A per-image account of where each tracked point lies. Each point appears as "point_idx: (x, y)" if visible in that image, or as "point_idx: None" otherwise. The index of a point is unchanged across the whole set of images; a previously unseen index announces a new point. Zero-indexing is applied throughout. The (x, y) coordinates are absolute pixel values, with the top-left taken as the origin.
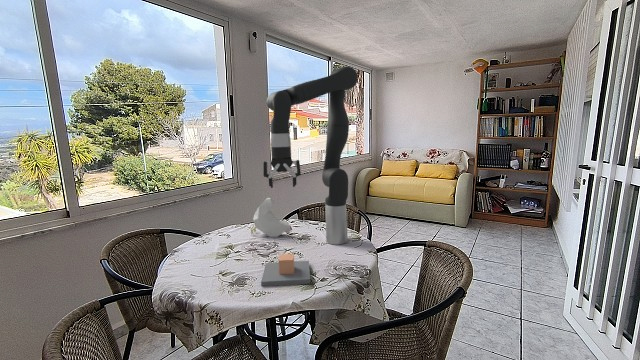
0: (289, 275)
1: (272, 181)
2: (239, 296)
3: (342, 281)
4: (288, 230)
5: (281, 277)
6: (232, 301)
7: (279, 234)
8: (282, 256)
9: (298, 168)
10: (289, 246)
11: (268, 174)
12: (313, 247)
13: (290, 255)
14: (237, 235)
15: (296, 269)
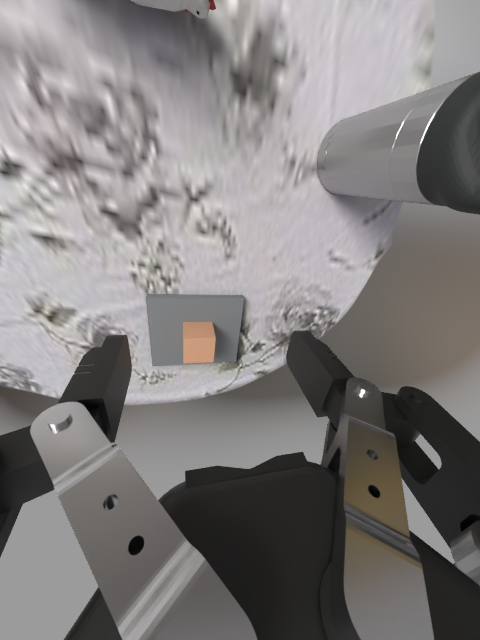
0: None
1: (119, 402)
2: None
3: (282, 353)
4: (196, 11)
5: None
6: None
7: (149, 5)
8: (190, 348)
9: (436, 504)
10: (199, 165)
11: (36, 489)
12: (270, 195)
13: (208, 344)
14: None
15: (215, 331)
